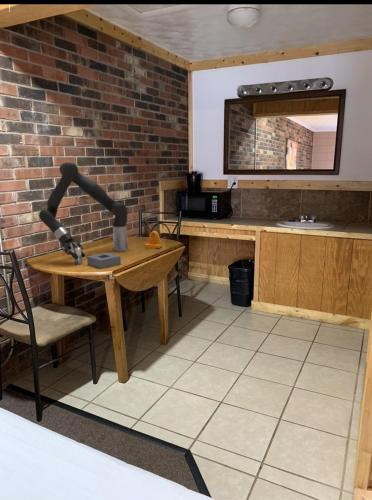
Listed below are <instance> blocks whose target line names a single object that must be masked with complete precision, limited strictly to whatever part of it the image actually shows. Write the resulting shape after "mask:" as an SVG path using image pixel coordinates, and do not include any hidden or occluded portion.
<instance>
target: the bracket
mask: <svg viewBox="0 0 372 500" xmlns="http://www.w3.org/2000/svg"><path fill="white" fill-rule="evenodd" d="M148 235H149V238H148V240H147V243H145V244H144V248H147V249H148V248H149V249H150V250H151V249H152V250H156V249H160V248H162V247H163V242H162V240H161V237H160V234H159V232H158V231H156V230H152V231H150V232H149V234H148Z"/></svg>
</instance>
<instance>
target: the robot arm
mask: <svg viewBox="0 0 372 500" xmlns="http://www.w3.org/2000/svg"><path fill="white" fill-rule="evenodd" d="M59 172H60V174H61V178H60V180H59V182H58V183H57V184H56V186H55V187H54V189H53V190H52V192H51V193H50V195H49V197H48V199H47V201H46V205H47V208H46V209H41V210H40V211H39V213H38V217H39V220H41V222H43V224H44V225H45V226H46V227H48V228H49V230H50V231H51V232H52V234H53V235H54V237H55V238H56V239H57V241H58V242H59V243H60V244H61V245H62V247H61V250H62V251H63V252H64V253H66V254H67V256H72V258H73V259H74V260H75V259H78V256H77V255H76V254H75V253H74V248H75V247H81V254H82V258H85V256H86V254H85V253H84V251H83V250H84V248H83V246H82V244H81V243H80V241H74V238H73V236H72V235H71V233H70V232H69V231H68V230H67V229H66V228H65V226H63V225H62V223H61V222H60V221H59V220H58V219H56V217H57V212H58V209H59V206H60V205H61V202H62V199H63V197H64V196H65V194H66V193H67V190H68V188H69V187H70V185H71V184H72V183H73V184H75V185H76V186H77V187H78V188H80V189H81V190H82V191H83V192H84V193H86V194H87V195H88V196H89V197H90V198H92V199H93V200H94V201H96V202H97V203H99V204H100V205H101V206H103V207H105V209H106V210H107V211H109V212H110V213H111V214H112V216H114V215H115V218H114V221H113V222H112V236H113V238H112V241H113V252H119V253H120V252H121V253H122V252H127V251H128V250H129V237H128V236H127V234H128V233H127V232H128V231H127V223H128V208H127V205H125V203H122V202H118V201H116V200H115V199H113V198H111V197H110V196H109V194H108V193H107V192H106V190H105V189H104V188H103V187H102V186H101V185H99V184H98V182H97V183H96V182H95V181H94V180H92V179H90V178H88V177H87V176H85V175H84V174H82V173H80V172H79V167H78V165H76V163H74V162H63V163H62V164H61V165H60V166H59Z"/></svg>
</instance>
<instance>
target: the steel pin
mask: <svg viewBox="0 0 372 500" xmlns="http://www.w3.org/2000/svg"><path fill="white" fill-rule="evenodd" d="M74 253H75V254H76V255H77V256H78V259H74V265H76V266H80V265H83V257H82V254H81V247H75V248H74Z"/></svg>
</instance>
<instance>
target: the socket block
mask: <svg viewBox="0 0 372 500" xmlns="http://www.w3.org/2000/svg"><path fill="white" fill-rule="evenodd" d="M121 257H122V256H121V255H116V254H114V253H110V252H104V253H98V254H93V255H92V254H91V255H87V256H86V258H87V265H88V266H91V267H95V268H98V269H101V270H102V268H103V269H106V268H111V267H114V266H115V265H116V266H119V264H120V265H122V263H121V261H122V260H121ZM116 266H115V267H116Z"/></svg>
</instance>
